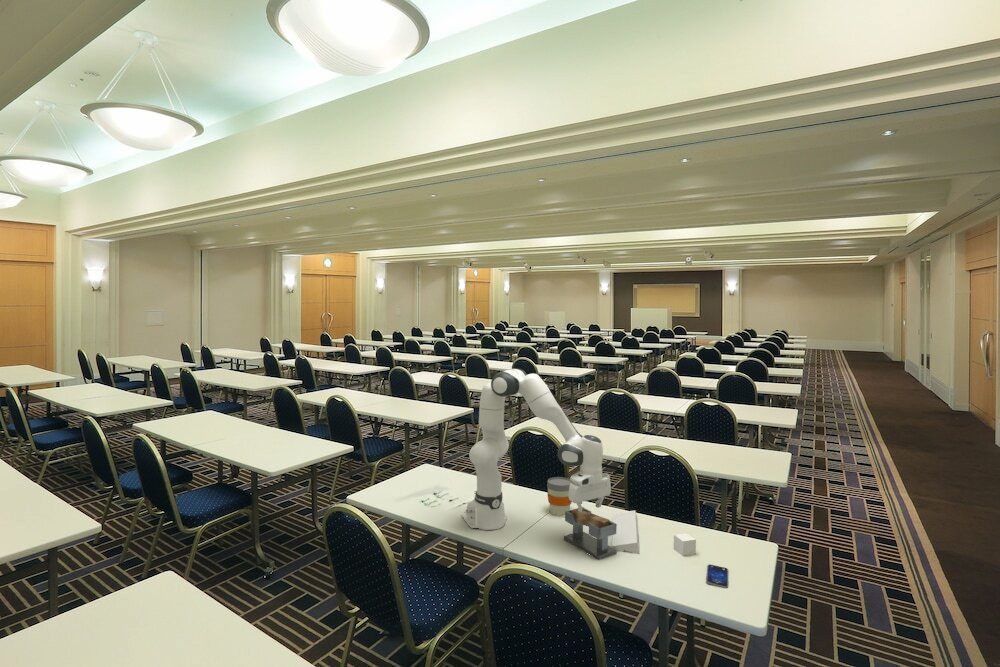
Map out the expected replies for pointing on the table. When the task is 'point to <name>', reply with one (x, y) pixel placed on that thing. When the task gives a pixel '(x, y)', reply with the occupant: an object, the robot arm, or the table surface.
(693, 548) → the white cube
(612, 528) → the bracket stand
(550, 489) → the reusable coffee cup
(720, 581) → the smartphone
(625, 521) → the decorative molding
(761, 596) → the table surface
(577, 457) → the robot arm
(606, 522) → the rail
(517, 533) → the table surface
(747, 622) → the table surface
